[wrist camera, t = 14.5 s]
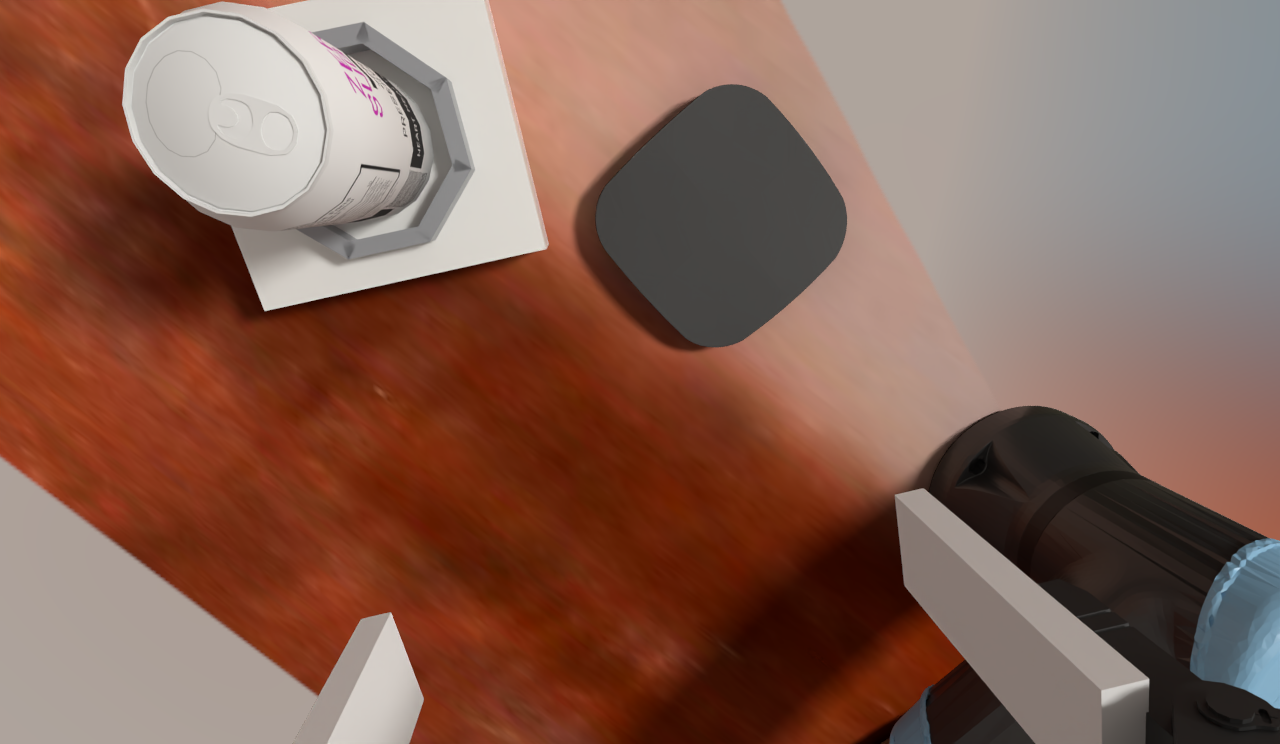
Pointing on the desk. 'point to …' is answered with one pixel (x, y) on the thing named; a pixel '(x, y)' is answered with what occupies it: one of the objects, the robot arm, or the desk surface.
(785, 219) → the media streaming box
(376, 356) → the desk surface
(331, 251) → the mount base
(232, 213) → the supplement can
